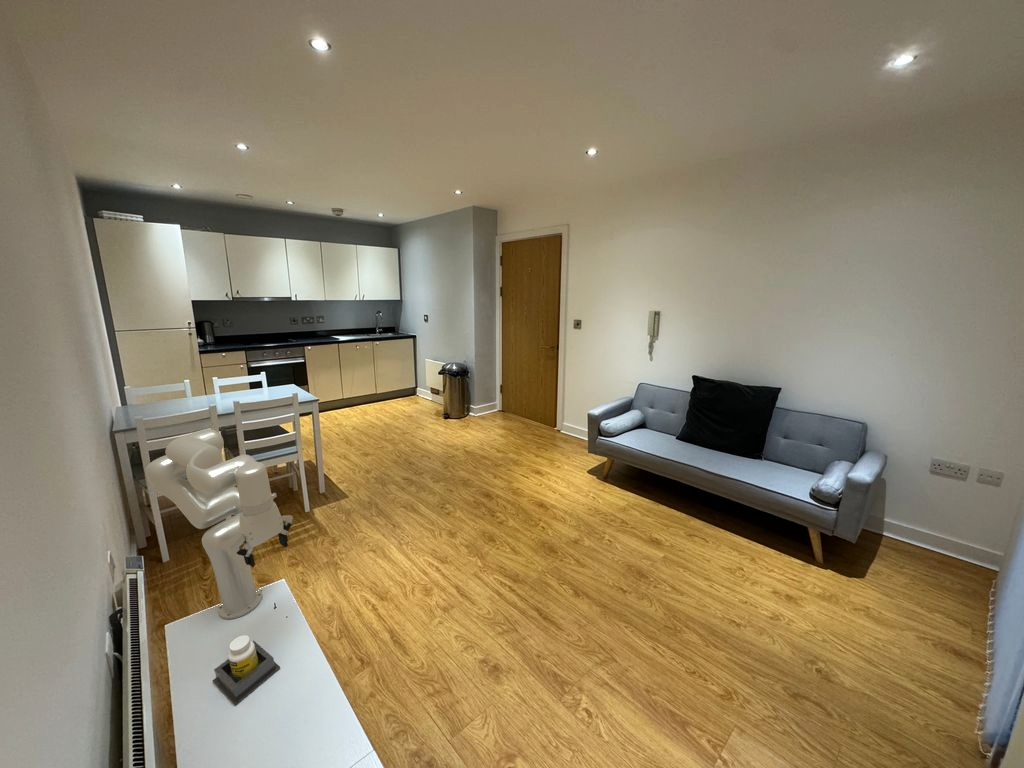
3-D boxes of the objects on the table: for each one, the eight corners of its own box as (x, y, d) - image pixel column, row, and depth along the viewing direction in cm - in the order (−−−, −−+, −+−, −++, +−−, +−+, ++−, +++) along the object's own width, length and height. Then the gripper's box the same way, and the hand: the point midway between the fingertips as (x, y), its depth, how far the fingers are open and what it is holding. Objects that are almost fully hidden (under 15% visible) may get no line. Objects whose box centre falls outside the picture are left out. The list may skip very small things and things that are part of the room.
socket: (212, 682, 112) (209, 670, 110) (257, 648, 121) (255, 637, 120) (235, 706, 106) (231, 693, 104) (280, 668, 116) (277, 656, 114)
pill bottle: (229, 685, 110) (221, 654, 107) (239, 664, 116) (232, 634, 113) (254, 681, 111) (246, 650, 108) (263, 660, 117) (256, 631, 114)
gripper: (280, 487, 124) (289, 534, 129) (217, 516, 110) (230, 568, 115) (294, 494, 120) (303, 542, 125) (231, 525, 106) (243, 578, 111)
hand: (268, 554), depth 120 cm, fingers open, 9 cm apart
